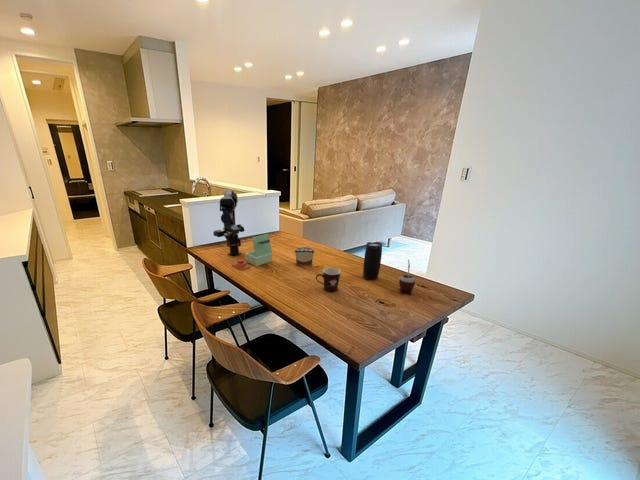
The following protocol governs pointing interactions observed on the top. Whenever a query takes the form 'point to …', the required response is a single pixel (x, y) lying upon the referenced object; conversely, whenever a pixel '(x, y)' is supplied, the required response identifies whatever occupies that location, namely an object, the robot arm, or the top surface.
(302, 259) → the food container
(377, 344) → the top surface
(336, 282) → the coffee mug
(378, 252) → the portable speaker
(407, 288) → the mate gourd
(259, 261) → the machine
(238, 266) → the button block
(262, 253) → the machine lid
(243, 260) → the button
